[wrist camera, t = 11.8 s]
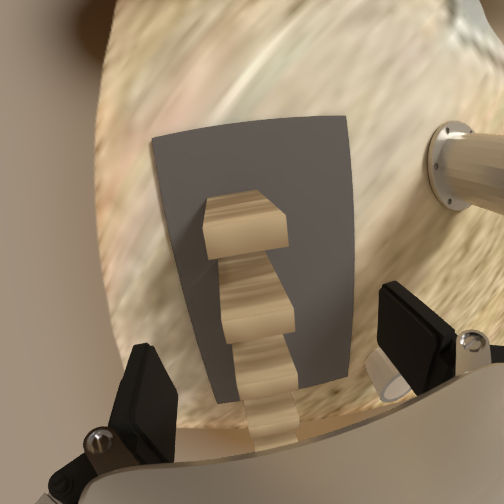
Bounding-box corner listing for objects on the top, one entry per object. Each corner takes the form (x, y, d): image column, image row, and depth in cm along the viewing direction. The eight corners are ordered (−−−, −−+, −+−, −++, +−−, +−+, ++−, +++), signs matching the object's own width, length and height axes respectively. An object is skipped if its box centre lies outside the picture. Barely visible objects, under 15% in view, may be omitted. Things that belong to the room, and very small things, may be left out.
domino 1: (218, 258, 30) (221, 321, 19) (264, 250, 31) (293, 308, 19) (221, 275, 31) (226, 344, 20) (266, 267, 31) (295, 331, 20)
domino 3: (237, 353, 35) (248, 428, 23) (275, 346, 35) (299, 418, 24) (239, 364, 35) (251, 438, 24) (277, 357, 36) (299, 428, 25)
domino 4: (244, 386, 37) (256, 456, 26) (279, 380, 37) (300, 447, 26) (246, 395, 38) (258, 463, 26) (280, 388, 38) (300, 455, 27)
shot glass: (392, 333, 38) (416, 360, 32) (401, 357, 41) (422, 383, 34) (355, 359, 39) (375, 390, 32) (367, 380, 41) (385, 409, 35)
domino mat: (343, 116, 27) (345, 115, 27) (346, 373, 40) (347, 376, 39) (153, 138, 26) (151, 138, 25) (217, 401, 38) (217, 403, 38)
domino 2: (228, 310, 32) (236, 385, 21) (271, 303, 33) (297, 374, 22) (231, 324, 33) (240, 400, 22) (272, 317, 34) (298, 389, 22)
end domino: (207, 197, 28) (202, 228, 17) (257, 189, 28) (285, 215, 17) (210, 216, 29) (208, 259, 17) (259, 209, 29) (288, 246, 18)
